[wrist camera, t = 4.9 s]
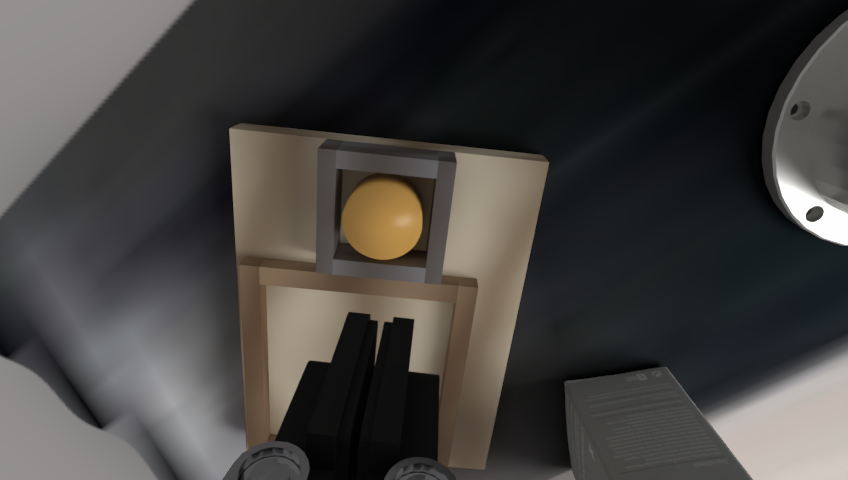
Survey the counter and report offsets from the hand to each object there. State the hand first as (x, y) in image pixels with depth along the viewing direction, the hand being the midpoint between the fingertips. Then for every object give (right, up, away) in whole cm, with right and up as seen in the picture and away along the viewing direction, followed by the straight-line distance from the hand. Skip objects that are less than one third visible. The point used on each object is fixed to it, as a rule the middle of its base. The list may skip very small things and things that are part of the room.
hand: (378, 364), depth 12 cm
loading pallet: (-1, -1, +16) cm, 16 cm away
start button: (-1, +5, +11) cm, 12 cm away
